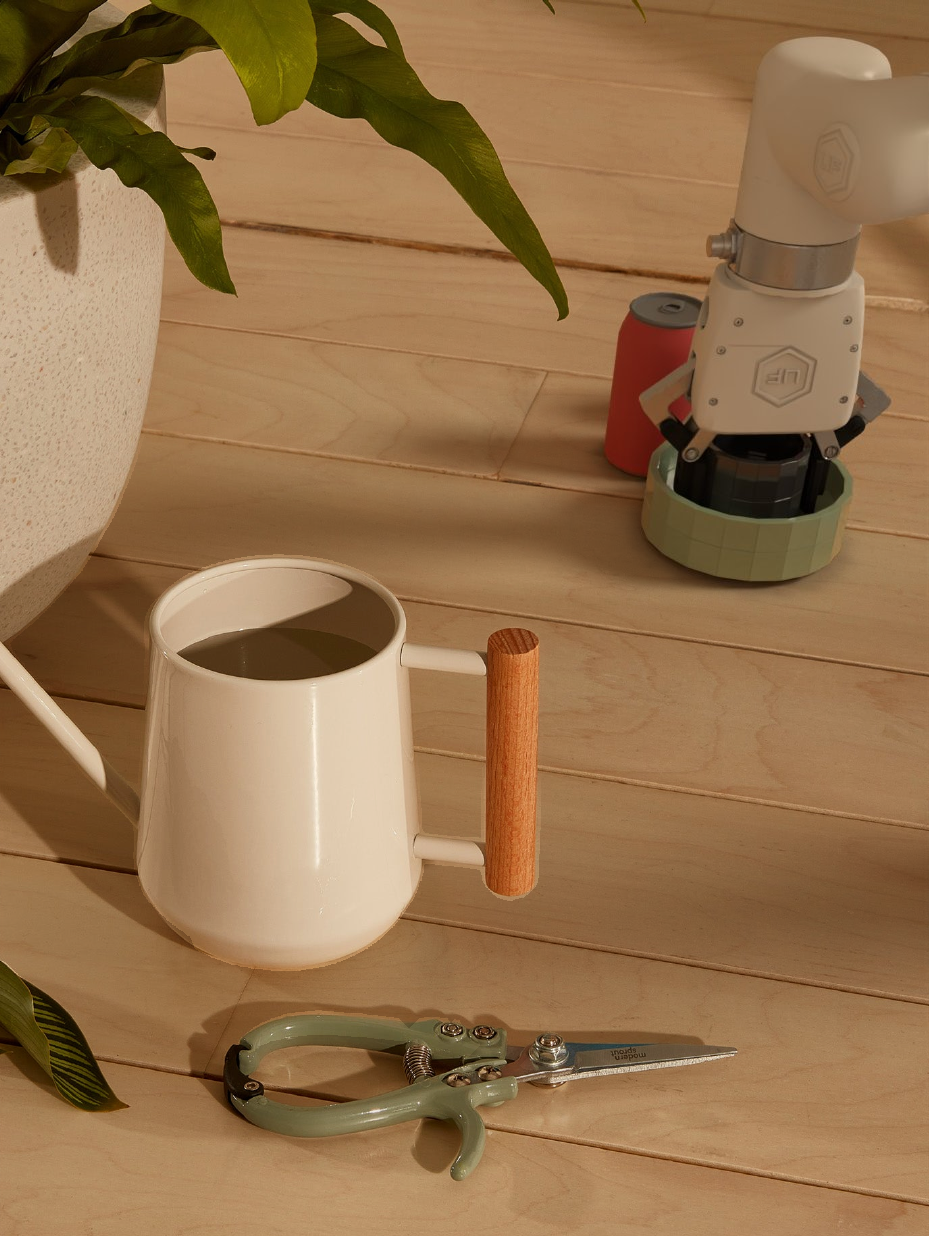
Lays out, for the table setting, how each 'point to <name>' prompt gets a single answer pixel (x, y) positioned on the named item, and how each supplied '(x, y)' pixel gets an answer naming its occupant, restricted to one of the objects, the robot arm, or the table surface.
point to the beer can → (647, 374)
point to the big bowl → (743, 529)
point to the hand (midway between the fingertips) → (745, 502)
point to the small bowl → (756, 474)
